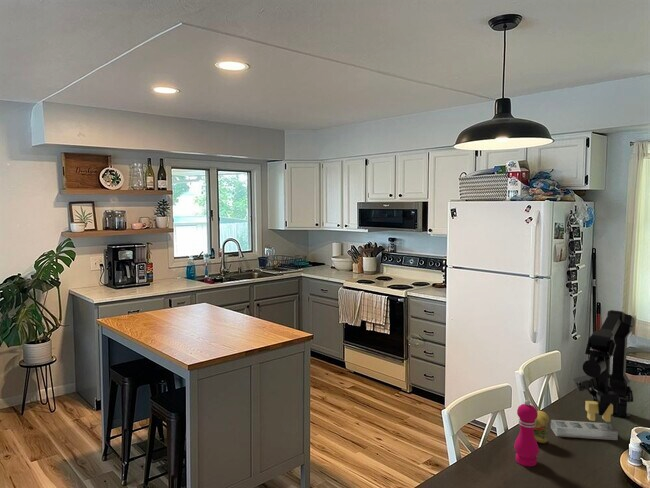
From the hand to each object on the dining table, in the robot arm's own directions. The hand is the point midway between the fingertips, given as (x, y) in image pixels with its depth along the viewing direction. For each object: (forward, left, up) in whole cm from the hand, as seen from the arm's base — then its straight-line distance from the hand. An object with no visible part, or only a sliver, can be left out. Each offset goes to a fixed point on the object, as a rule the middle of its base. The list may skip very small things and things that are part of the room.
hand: (599, 413), depth 175 cm
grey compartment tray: (0, -5, -8) cm, 9 cm away
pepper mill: (+24, -30, -8) cm, 39 cm away
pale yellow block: (0, 0, -2) cm, 2 cm away
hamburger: (+9, -23, -8) cm, 26 cm away
